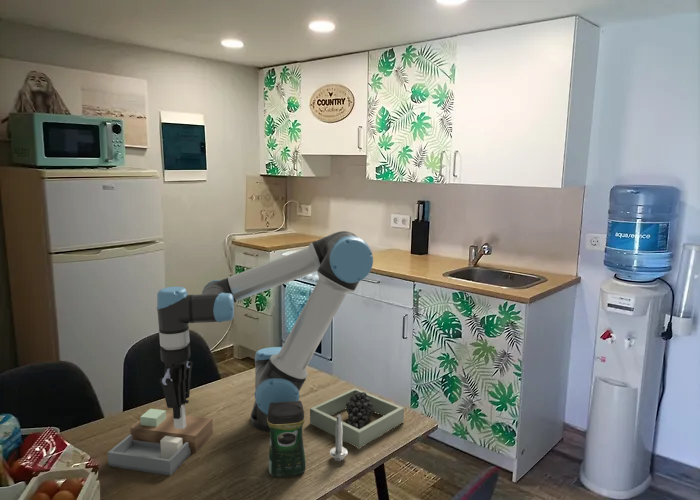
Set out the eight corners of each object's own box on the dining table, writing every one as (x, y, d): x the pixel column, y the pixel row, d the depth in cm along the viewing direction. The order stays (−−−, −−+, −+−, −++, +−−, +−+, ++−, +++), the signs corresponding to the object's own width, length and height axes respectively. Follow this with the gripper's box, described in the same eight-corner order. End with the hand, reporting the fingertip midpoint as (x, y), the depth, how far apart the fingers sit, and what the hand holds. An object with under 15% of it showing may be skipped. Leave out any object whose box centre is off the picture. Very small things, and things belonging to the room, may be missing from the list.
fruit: (361, 408, 148) (369, 385, 163) (334, 414, 151) (345, 391, 165) (370, 435, 150) (378, 410, 164) (344, 440, 152) (353, 415, 166)
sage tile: (166, 418, 150) (166, 410, 149) (156, 426, 145) (156, 418, 145) (151, 416, 151) (150, 408, 150) (140, 424, 146) (140, 416, 146)
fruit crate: (403, 422, 159) (403, 407, 158) (359, 449, 144) (359, 432, 143) (354, 401, 172) (355, 387, 171) (310, 423, 158) (309, 408, 157)
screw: (345, 453, 142) (349, 462, 137) (328, 454, 141) (331, 464, 136) (346, 409, 140) (349, 417, 135) (328, 410, 139) (331, 419, 134)
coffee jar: (304, 459, 138) (303, 395, 135) (306, 477, 131) (306, 409, 128) (268, 462, 137) (266, 397, 134) (268, 480, 129) (266, 412, 126)
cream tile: (182, 438, 138) (177, 442, 135) (183, 455, 139) (178, 460, 136) (165, 435, 139) (160, 440, 136) (166, 452, 140) (161, 457, 137)
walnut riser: (212, 434, 151) (212, 418, 150) (195, 452, 141) (195, 436, 140) (151, 426, 155) (150, 411, 154) (131, 443, 145) (130, 427, 145)
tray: (190, 454, 140) (190, 440, 140) (170, 475, 131) (170, 461, 130) (132, 446, 144) (131, 433, 144) (108, 466, 135) (107, 452, 134)
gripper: (175, 336, 144) (180, 414, 148) (147, 352, 131) (154, 438, 135) (199, 337, 142) (204, 417, 146) (174, 355, 129) (180, 441, 133)
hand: (180, 427), depth 141 cm, fingers closed
